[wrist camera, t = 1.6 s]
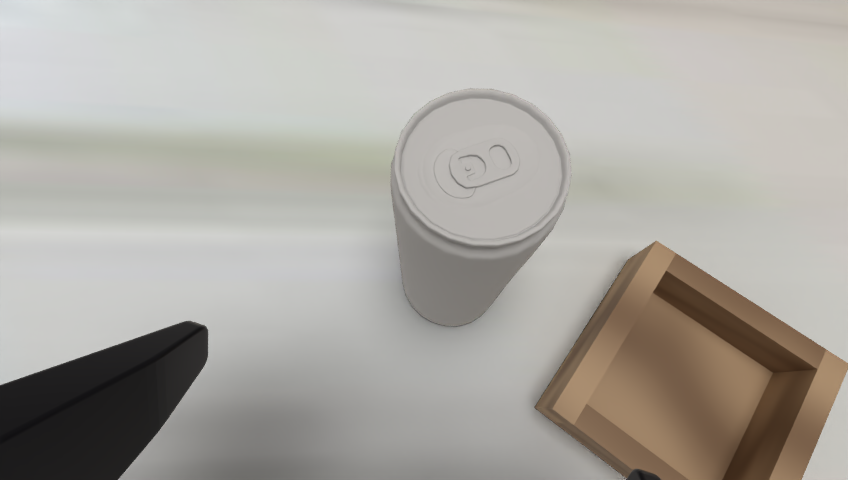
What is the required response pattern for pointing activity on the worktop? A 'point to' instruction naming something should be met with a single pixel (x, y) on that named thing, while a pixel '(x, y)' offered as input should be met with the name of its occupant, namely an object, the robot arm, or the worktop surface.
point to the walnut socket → (692, 379)
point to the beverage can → (473, 198)
